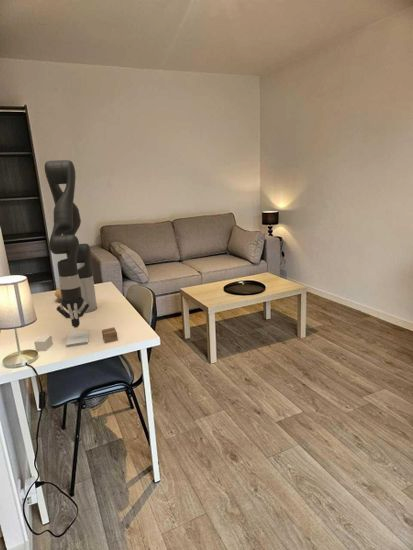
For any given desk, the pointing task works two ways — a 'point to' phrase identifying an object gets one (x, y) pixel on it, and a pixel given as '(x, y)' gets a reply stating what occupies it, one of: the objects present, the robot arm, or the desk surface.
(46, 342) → the grey plastic block
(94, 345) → the desk surface
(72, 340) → the hard drive
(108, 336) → the walnut block
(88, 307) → the robot arm
